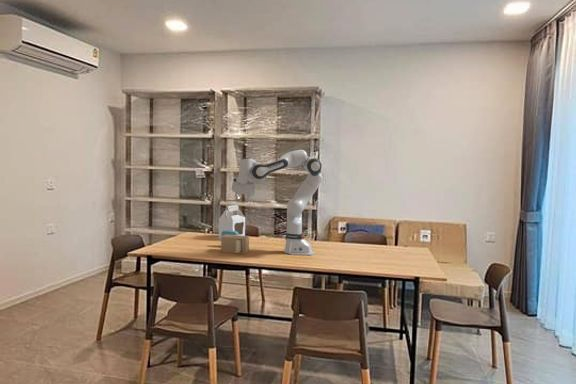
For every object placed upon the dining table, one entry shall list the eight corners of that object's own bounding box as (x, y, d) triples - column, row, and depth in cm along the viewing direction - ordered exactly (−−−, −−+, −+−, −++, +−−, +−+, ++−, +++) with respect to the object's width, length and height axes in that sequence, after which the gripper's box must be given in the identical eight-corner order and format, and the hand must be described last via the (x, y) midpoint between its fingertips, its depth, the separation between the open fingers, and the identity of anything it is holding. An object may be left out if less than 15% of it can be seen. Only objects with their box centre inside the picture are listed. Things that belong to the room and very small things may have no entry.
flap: (243, 249, 313) (243, 238, 312) (238, 252, 301) (238, 241, 301) (240, 249, 313) (241, 238, 313) (235, 252, 302) (235, 241, 301)
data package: (238, 246, 330) (238, 231, 329) (235, 248, 326) (236, 232, 325) (223, 245, 333) (224, 230, 333) (221, 246, 329) (221, 230, 328)
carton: (248, 250, 316) (249, 235, 316) (244, 253, 307) (245, 237, 306) (225, 249, 320) (225, 234, 319) (220, 251, 310) (221, 236, 309)
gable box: (232, 241, 353) (233, 207, 351) (218, 239, 358) (219, 206, 356) (244, 237, 374) (245, 205, 372) (231, 235, 379) (232, 204, 377)
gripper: (257, 182, 299) (255, 202, 300) (237, 178, 312) (235, 197, 314) (251, 182, 294) (248, 202, 296) (231, 178, 308) (229, 197, 309)
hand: (242, 200), depth 305 cm, fingers open, 8 cm apart
